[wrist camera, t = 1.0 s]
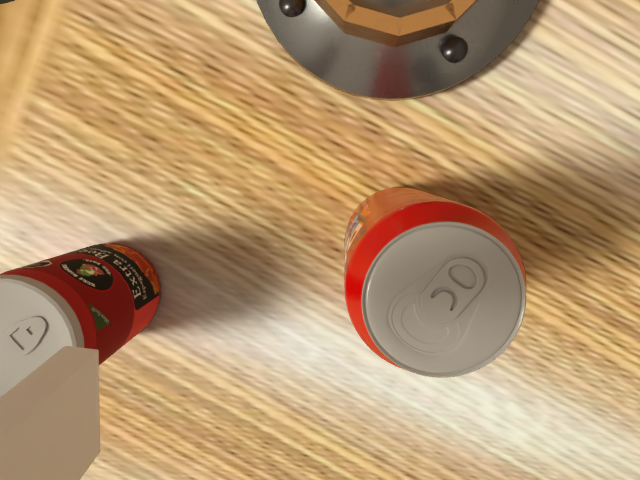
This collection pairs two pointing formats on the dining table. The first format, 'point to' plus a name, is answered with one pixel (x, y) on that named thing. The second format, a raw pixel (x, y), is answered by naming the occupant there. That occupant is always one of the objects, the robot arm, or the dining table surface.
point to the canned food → (73, 306)
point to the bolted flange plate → (395, 41)
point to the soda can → (432, 282)
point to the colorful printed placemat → (5, 1)
